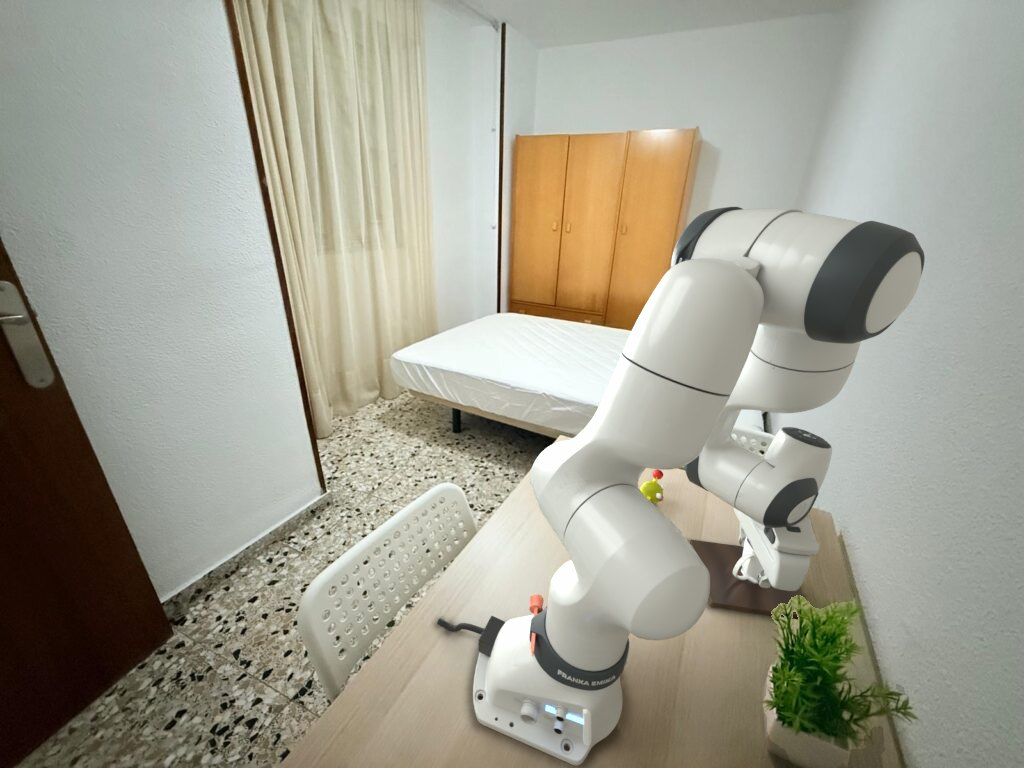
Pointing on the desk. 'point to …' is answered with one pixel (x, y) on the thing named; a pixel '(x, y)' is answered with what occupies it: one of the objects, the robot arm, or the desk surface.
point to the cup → (748, 564)
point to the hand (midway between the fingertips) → (752, 563)
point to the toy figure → (653, 488)
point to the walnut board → (737, 582)
